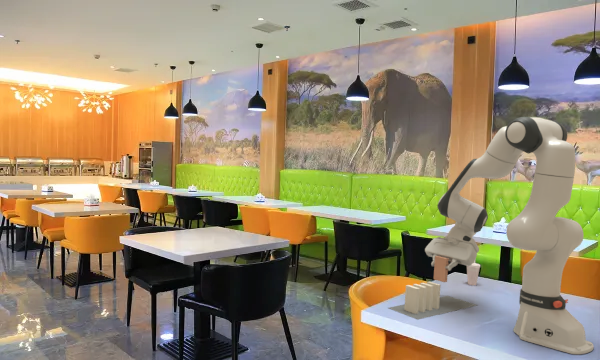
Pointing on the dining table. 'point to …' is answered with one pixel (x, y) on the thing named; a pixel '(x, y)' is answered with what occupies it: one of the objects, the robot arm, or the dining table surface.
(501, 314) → the dining table surface
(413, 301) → the ivory domino
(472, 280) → the smoothie
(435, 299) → the ivory domino
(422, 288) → the ivory domino
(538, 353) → the dining table surface
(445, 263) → the terracotta domino
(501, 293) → the dining table surface
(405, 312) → the rubber mat
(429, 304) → the ivory domino
